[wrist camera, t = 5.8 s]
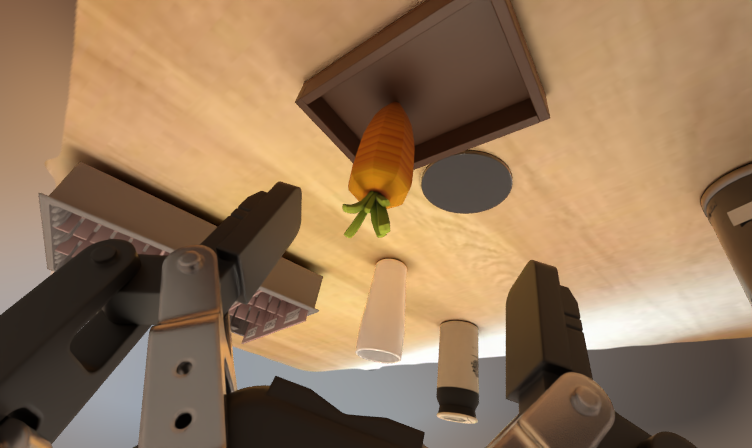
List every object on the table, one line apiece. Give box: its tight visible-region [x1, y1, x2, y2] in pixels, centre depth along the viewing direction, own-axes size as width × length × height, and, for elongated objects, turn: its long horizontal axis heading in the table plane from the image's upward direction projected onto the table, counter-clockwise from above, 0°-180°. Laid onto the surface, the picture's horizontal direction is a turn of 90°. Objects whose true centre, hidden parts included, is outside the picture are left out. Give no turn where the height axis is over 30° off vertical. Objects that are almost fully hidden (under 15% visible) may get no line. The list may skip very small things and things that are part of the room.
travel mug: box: [437, 321, 479, 423], centre depth 71 cm, size 8×8×18 cm
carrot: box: [342, 102, 415, 238], centre depth 28 cm, size 5×5×15 cm
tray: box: [295, 0, 550, 170], centre depth 30 cm, size 18×12×3 cm, turn 126°
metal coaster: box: [421, 151, 512, 214], centre depth 40 cm, size 10×10×1 cm
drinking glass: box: [356, 259, 407, 363], centre depth 54 cm, size 7×7×15 cm
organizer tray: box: [39, 161, 323, 344], centre depth 63 cm, size 32×40×10 cm
